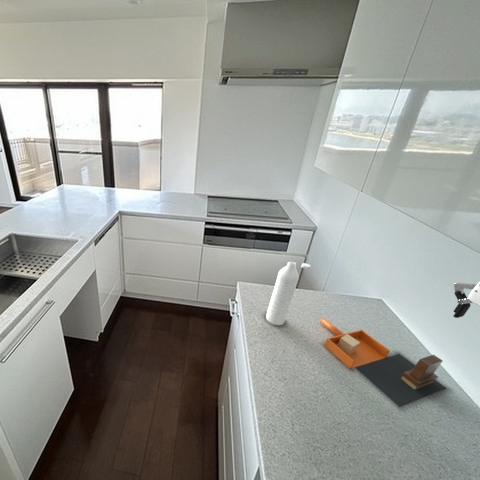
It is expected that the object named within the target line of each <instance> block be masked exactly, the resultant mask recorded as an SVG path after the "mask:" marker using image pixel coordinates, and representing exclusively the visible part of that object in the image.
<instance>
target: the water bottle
mask: <svg viewBox="0 0 480 480" xmlns="http://www.w3.org/2000/svg"><path fill="white" fill-rule="evenodd" d="M296 267H297V263H296V262H295V261H290V260H289V261H288V262H287V265H286V266H284V267H282V268H281V269H280V270H279V271H278V273H277V277H276V281H275V284H274V287H273V291H272V295H271V297H270V301H269V304H268V307H267V310H266V311H267V312H266V315H265V319H266V320H267V322H268V323H270V324H271V325H274V326H283V325H284V324H285V322H286V318H287V316H288V313H289V309H290V307H291V303H292V300H293V297H294V293H295V291H296V288H297V286H298V285H297V284H298V282H299V279H300V275H299V272H298V270H297V268H296ZM300 267H301V268H302V269H303V270H304V269H305V270H309V269H311V264H309V263H306V262H302V263H301V266H300Z"/></svg>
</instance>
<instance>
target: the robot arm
mask: <svg viewBox="0 0 480 480" xmlns="http://www.w3.org/2000/svg"><path fill="white" fill-rule="evenodd" d="M453 288H454V296H455V297H456V299H457V305H456V306H455V308H454V309H453V313H454V314H453V315H452V316H453V318H455V319H459V318H462V317H464V316H465V315H466V313H467V312H468V310H469V309H470V308H471V306H472V305H471V304H475V305H477V306H479V307H480V281H478V283H466V282H456V283H453ZM465 290H471V291H470V293H469V294H468V296H467V295H466V293H465Z"/></svg>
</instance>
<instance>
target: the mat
mask: <svg viewBox="0 0 480 480" xmlns="http://www.w3.org/2000/svg"><path fill="white" fill-rule="evenodd" d="M415 366H416V364H414V363H413V362H411V361H410V360H409V359H408V358H406V357H405V356H403V355H402V354H401V353H396V354H393V355H390V356H387V357H386V358H383V359H380V360H377V361H374V362H370V363H367V364H364V365H361V366H357V367H354V368H355V369H356V370H357V371H358V372H359V373H360V374H361V375H363V376H364V377H365V378H366V379H367V380H368V381H369V382H371V383H372V384H373V385H374V386H375V387H376V388H377V389H378V390H380V391H381V392H382V393H383V394H384V395H385V396H386V397H387V398H389V399H390V400H391V401H392V402H393V403H394V404H396V405H397V406H398V407H399V408H401V407H403V406H406V405H408V404H412V403H413V402H416V401H418V400H421V399H423V398H426V397H428V396H431V395H434V394H437V393H439V392H441V391H444V390H447V387H446V386H444V385H443V384H442V383H440V382H439V381H438V380H437V379H436V380H434V381H433V383H430V384H428V385H425V386H423V387H420V388H417V389H415V390H414V389H413V388H412V387H411V386H409V385H408V384H407V383H405V382H404V381H403V380H402V379H401V378H402V375H403V373H404V372H406V371H409V370H412V369H414V367H415Z"/></svg>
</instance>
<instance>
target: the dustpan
mask: <svg viewBox="0 0 480 480" xmlns="http://www.w3.org/2000/svg"><path fill="white" fill-rule="evenodd" d="M320 323H321V324H322V325H323V326H324V327H326V328H327V329H328V330H329V331H331V332H332V333H333V334H334V335H335V336H331V337H327V338H326V340H325V343H324V346H325V347H326V349H328V350H329V351H330V352H331V353H332V354H333V355H334V356H335V357H337V358H338V359H339V360H340V361H341V362H342V363H343V364H345V366H346V367H347V368H349V369H354V368H355V367H357V366H361V365H364V364H367V363H370V362H374V361H377V360H380V359H383V358H387V357H388V355H389V354H390V352H391V350H390V349H389V348H387V347H386V346H384V345H383V344H382V343H380V342H379V341H378V340H377V339H375V338H373V337H372V336H371V335H370V334H368V333H367V332H366V331H364V330H363V329H358V330H354V331H351V332H347V333H344V332H342V331H341V330H340V329H338V328H337V327H336V326H335V325H334V324H332V323H331V322H330V321H328V320H327V319H326V318H325V317H323V318H320ZM347 334H348V335H350V336H351V337H353V338H354V339H356V340H357V341H359V342H360V344H359V346H358V348H357V350H356V352H354V353H352V354H351V355H348V354H346V353H345V352H343V351H342V350H341V349H340V348H339V347H338V346H337V345H338V343H339V341H340V339H341V338H342V337H343V336H345V335H347Z"/></svg>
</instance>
